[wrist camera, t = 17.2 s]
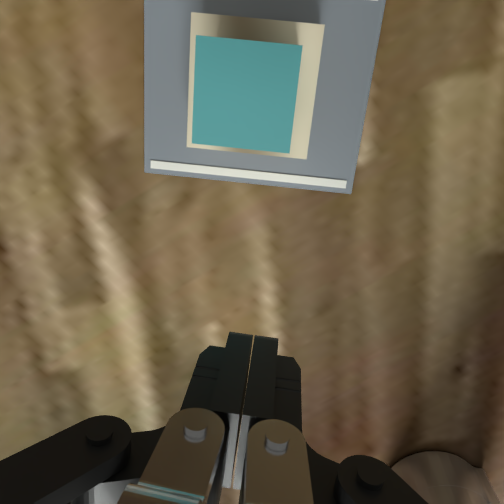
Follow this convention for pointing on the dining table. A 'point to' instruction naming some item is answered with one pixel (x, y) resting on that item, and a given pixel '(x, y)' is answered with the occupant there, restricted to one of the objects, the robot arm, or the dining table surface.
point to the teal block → (245, 93)
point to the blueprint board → (325, 105)
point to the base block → (266, 32)
